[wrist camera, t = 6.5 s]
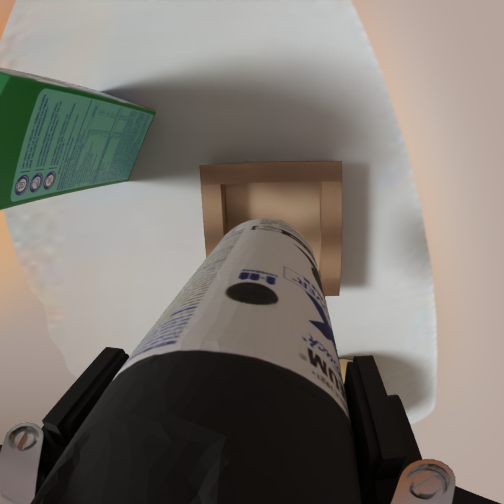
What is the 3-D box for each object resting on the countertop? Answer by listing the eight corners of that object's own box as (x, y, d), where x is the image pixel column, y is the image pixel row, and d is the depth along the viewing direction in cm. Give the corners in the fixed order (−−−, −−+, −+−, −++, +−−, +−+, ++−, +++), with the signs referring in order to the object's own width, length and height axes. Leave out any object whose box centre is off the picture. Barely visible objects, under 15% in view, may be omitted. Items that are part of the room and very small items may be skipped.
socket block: (207, 165, 35) (199, 165, 31) (336, 161, 33) (341, 161, 30) (216, 284, 39) (209, 296, 35) (335, 283, 37) (339, 295, 34)
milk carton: (156, 111, 34) (-17, 70, 10) (127, 182, 36) (-48, 226, 12) (99, 91, 33) (-67, 58, 9) (74, 156, 36) (-93, 178, 12)
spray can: (322, 302, 22) (369, 630, 3) (227, 319, 23) (120, 610, 4) (304, 207, 20) (414, 602, 1) (202, 229, 21) (-60, 485, 2)
